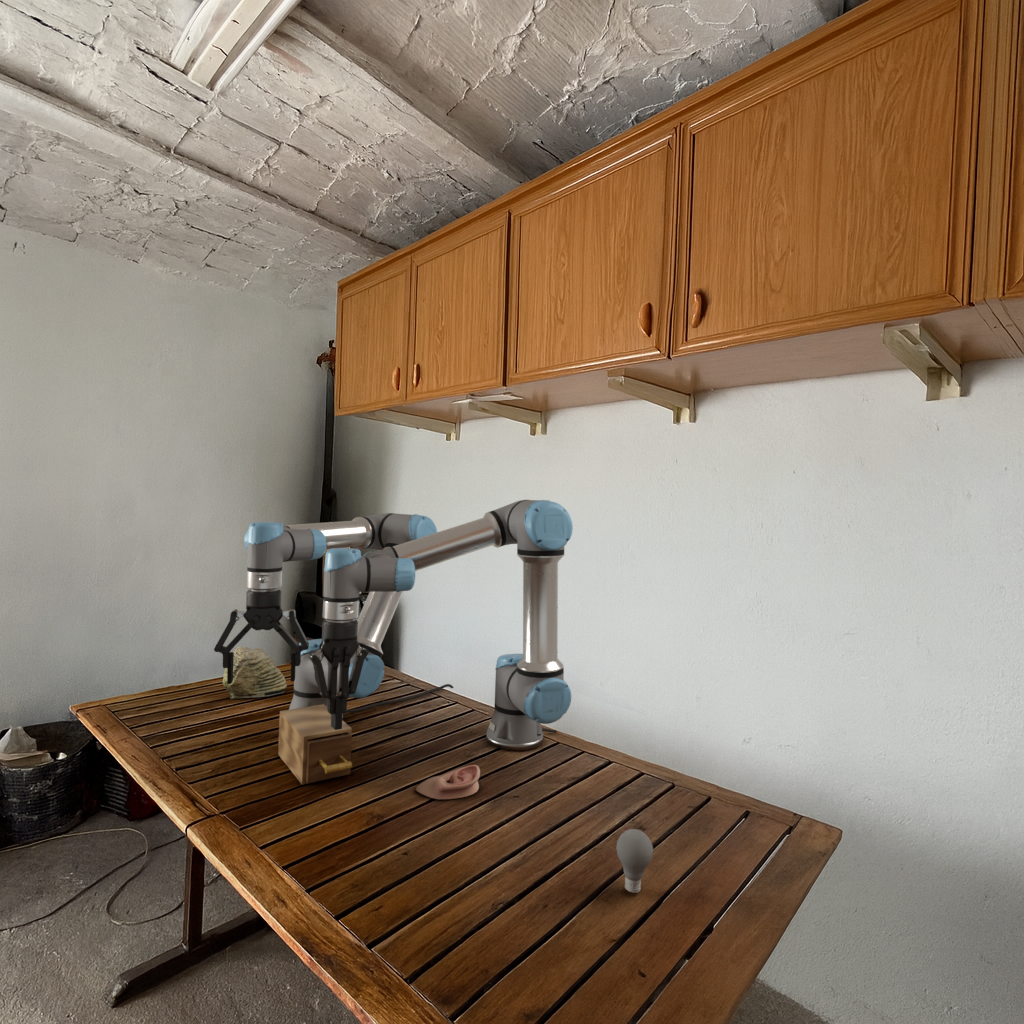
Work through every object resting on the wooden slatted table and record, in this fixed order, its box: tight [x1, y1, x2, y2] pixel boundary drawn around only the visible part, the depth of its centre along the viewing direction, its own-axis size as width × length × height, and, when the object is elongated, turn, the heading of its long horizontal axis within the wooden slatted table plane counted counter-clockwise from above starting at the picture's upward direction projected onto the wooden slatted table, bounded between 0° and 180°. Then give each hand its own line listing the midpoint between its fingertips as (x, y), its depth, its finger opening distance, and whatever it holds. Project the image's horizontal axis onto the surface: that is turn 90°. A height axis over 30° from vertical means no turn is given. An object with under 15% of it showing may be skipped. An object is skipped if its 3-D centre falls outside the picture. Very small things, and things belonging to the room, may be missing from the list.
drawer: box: [306, 733, 353, 784], centre depth 145 cm, size 23×10×9 cm, turn 36°
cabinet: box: [277, 704, 353, 786], centre depth 149 cm, size 19×11×11 cm, turn 36°
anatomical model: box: [415, 764, 481, 800], centre depth 140 cm, size 13×4×12 cm
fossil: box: [222, 646, 288, 699], centre depth 198 cm, size 9×18×15 cm, turn 132°
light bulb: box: [615, 828, 654, 894], centre depth 106 cm, size 6×6×10 cm
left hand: (261, 681), depth 146 cm, fingers open, 13 cm apart
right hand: (336, 727), depth 138 cm, fingers closed
